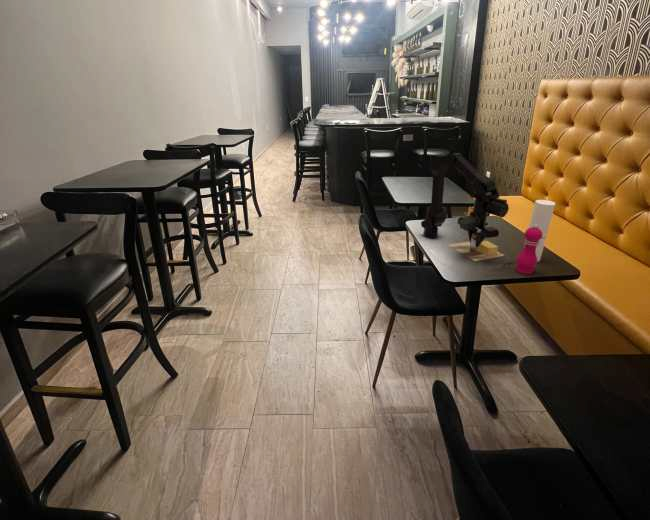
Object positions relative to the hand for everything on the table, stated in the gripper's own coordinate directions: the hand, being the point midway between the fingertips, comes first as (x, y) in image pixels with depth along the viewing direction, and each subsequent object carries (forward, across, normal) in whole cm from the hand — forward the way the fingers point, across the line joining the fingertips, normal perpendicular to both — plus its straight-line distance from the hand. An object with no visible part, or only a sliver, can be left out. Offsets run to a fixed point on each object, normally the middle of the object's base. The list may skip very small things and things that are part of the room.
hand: (474, 245), depth 165 cm
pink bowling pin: (+6, +18, +11) cm, 22 cm away
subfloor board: (+6, -3, +4) cm, 7 cm away
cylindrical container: (+6, +10, +23) cm, 26 cm away
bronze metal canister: (+2, 0, 0) cm, 2 cm away
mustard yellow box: (+4, 0, +7) cm, 8 cm away
